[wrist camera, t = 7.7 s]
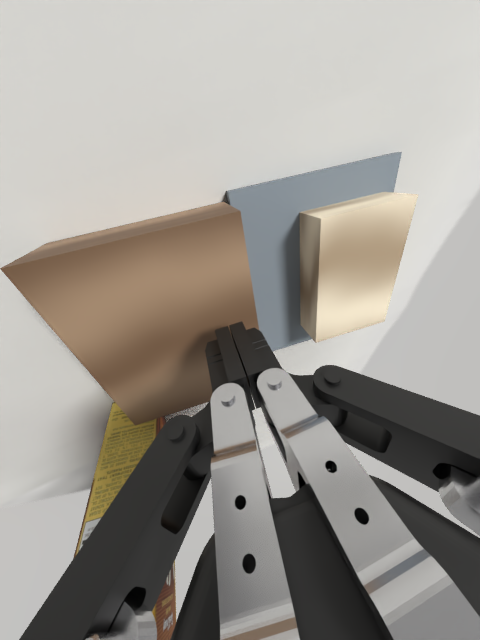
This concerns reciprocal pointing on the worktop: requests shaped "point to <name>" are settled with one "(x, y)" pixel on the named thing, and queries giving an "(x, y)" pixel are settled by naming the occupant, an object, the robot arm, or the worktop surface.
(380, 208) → the tile
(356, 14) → the worktop surface
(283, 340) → the mat
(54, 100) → the worktop surface
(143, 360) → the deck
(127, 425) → the candy box
